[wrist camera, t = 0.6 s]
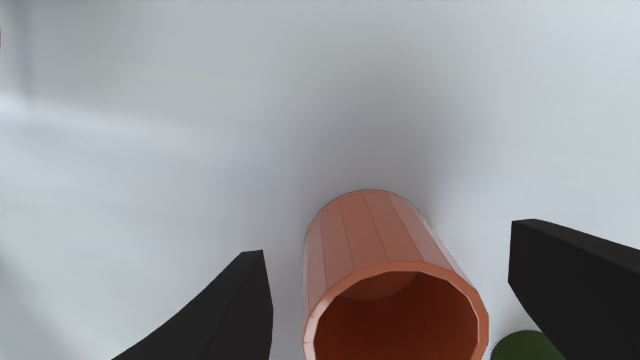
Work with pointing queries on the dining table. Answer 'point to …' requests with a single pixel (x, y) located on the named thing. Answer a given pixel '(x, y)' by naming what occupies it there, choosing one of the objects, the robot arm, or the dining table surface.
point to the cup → (385, 286)
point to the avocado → (526, 347)
